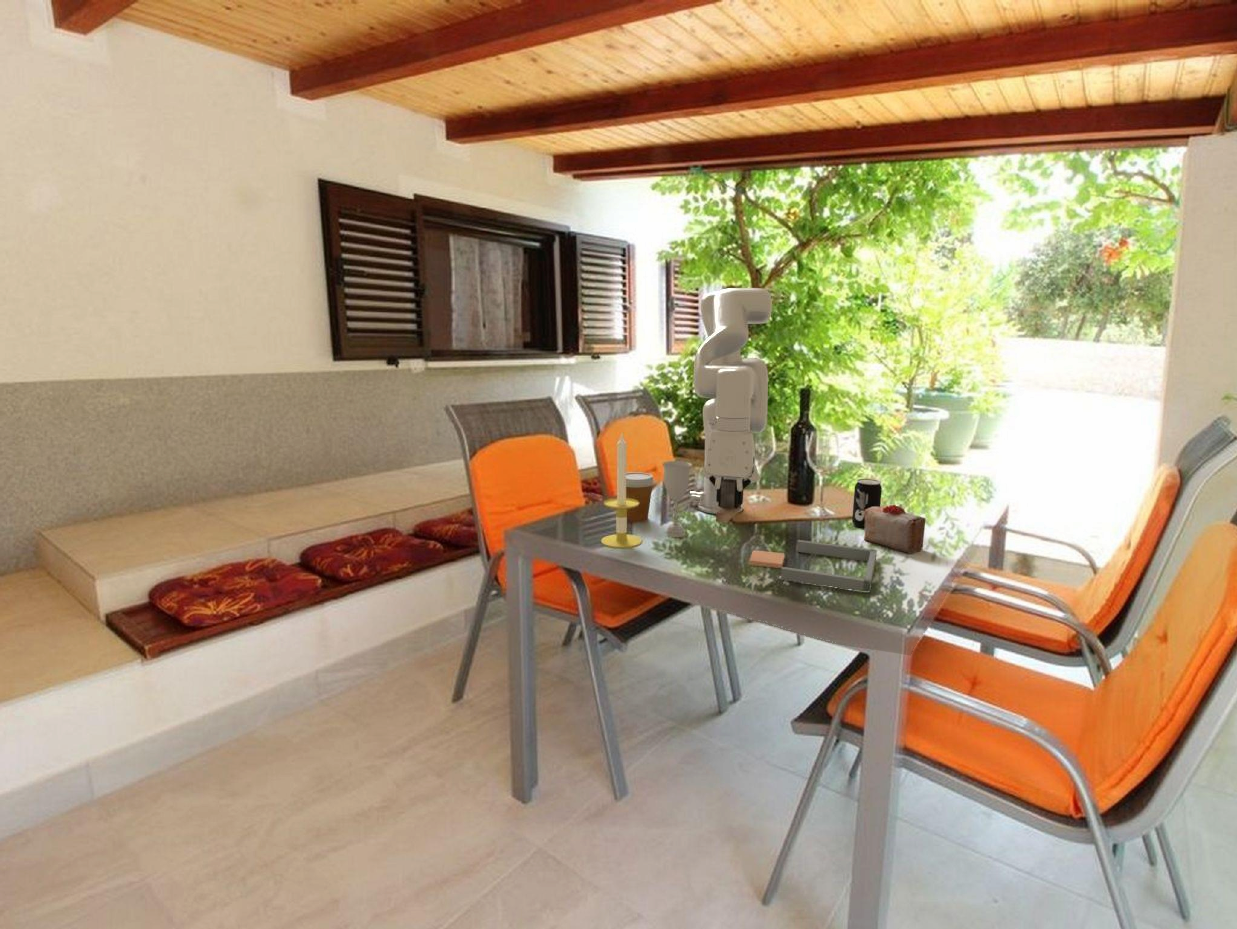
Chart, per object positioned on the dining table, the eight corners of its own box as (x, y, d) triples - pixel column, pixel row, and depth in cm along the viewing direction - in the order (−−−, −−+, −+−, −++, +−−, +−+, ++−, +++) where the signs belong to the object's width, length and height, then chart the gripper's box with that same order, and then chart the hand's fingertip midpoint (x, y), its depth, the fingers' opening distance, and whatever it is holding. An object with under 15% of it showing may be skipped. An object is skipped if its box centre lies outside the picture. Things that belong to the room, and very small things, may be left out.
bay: (780, 580, 139) (781, 568, 138) (797, 550, 157) (798, 539, 157) (869, 593, 132) (870, 581, 131) (875, 560, 150) (876, 549, 150)
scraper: (714, 521, 146) (715, 485, 144) (729, 507, 157) (731, 474, 156) (728, 523, 145) (729, 486, 143) (742, 508, 156) (743, 475, 155)
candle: (594, 538, 165) (594, 430, 160) (631, 533, 169) (632, 427, 164) (610, 550, 156) (610, 436, 151) (649, 545, 160) (650, 433, 155)
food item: (856, 540, 164) (860, 501, 162) (876, 534, 169) (880, 496, 167) (908, 556, 153) (912, 514, 151) (927, 549, 158) (932, 509, 156)
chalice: (692, 531, 171) (694, 462, 167) (686, 539, 164) (688, 467, 161) (665, 528, 173) (666, 460, 169) (657, 536, 167) (658, 465, 163)
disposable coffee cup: (612, 516, 183) (612, 474, 181) (642, 512, 188) (643, 470, 185) (628, 526, 175) (629, 481, 173) (660, 521, 179) (661, 477, 177)
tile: (749, 566, 148) (749, 560, 147) (752, 556, 154) (753, 550, 154) (781, 570, 146) (782, 564, 145) (784, 559, 152) (784, 553, 152)
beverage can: (880, 530, 172) (884, 484, 170) (853, 528, 173) (857, 483, 171) (876, 522, 178) (880, 478, 176) (850, 521, 180) (853, 477, 177)
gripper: (691, 425, 147) (689, 506, 151) (766, 429, 140) (762, 514, 144) (701, 420, 154) (699, 498, 157) (773, 425, 147) (769, 506, 151)
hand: (729, 505), depth 151 cm, fingers closed on scraper, 3 cm apart
